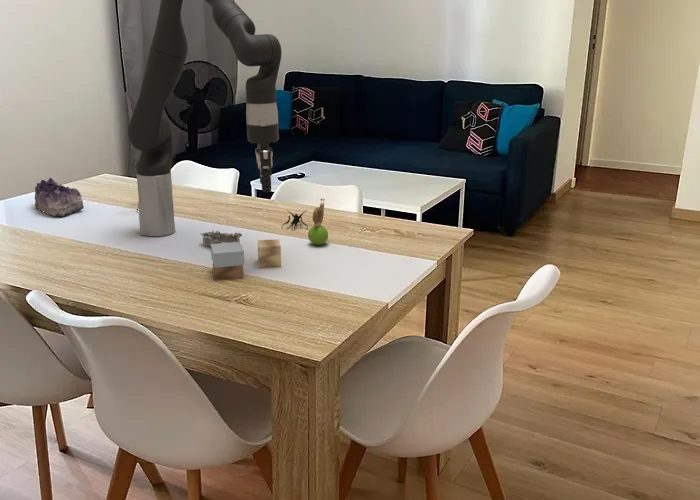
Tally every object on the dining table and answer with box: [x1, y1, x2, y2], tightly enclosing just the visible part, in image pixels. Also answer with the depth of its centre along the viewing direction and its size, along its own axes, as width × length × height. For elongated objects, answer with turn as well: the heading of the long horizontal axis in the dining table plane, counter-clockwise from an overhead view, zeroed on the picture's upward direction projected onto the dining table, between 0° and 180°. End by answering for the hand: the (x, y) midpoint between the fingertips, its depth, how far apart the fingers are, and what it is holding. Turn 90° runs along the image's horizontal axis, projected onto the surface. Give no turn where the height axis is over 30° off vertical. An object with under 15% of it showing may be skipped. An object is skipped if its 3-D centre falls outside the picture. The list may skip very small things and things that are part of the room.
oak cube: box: [257, 238, 282, 269], centre depth 181 cm, size 6×6×6 cm
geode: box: [34, 177, 84, 218], centre depth 225 cm, size 20×12×10 cm, turn 49°
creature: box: [281, 209, 309, 231], centre depth 210 cm, size 8×5×8 cm
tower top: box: [210, 241, 245, 268], centre depth 173 cm, size 7×7×4 cm
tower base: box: [212, 263, 244, 281], centre depth 175 cm, size 7×7×4 cm
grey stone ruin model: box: [200, 230, 243, 247], centre depth 195 cm, size 10×7×4 cm
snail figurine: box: [307, 198, 329, 246], centre depth 195 cm, size 5×6×12 cm
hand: (265, 187), depth 178 cm, fingers open, 8 cm apart
